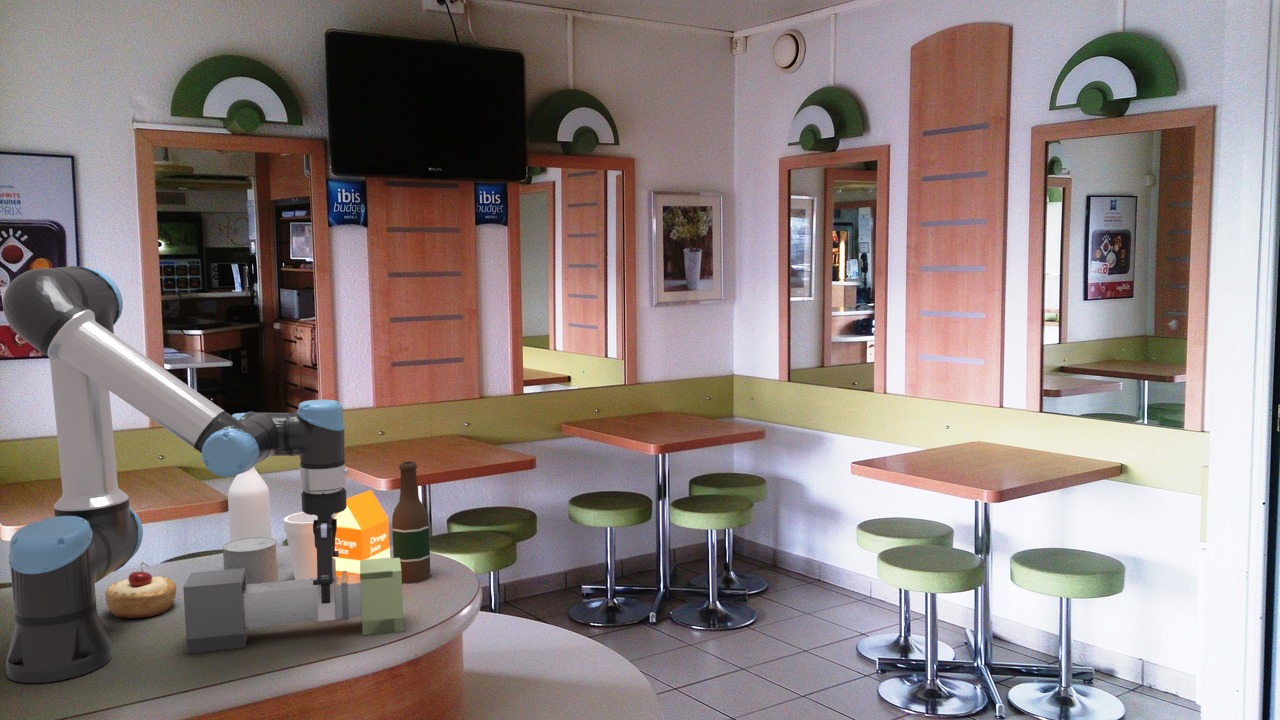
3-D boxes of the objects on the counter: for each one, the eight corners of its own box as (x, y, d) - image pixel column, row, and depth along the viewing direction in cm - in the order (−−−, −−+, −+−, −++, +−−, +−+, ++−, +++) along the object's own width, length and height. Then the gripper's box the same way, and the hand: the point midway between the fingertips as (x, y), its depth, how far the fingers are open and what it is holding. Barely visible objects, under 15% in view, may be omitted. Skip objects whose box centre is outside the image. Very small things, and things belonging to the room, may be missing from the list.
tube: (237, 630, 178) (235, 592, 177) (241, 616, 185) (239, 580, 184) (388, 615, 184) (386, 579, 183) (387, 602, 191) (385, 567, 190)
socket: (362, 635, 183) (360, 573, 182) (362, 619, 191) (359, 559, 189) (403, 631, 185) (401, 569, 183) (401, 615, 192) (399, 556, 191)
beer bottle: (401, 570, 219) (396, 458, 216) (436, 572, 218) (432, 458, 215) (387, 583, 211) (382, 466, 208) (424, 584, 210) (419, 466, 207)
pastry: (98, 625, 190) (95, 577, 189) (116, 603, 201) (113, 558, 200) (169, 619, 192) (166, 572, 191) (183, 598, 204) (180, 553, 203)
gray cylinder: (262, 617, 192) (258, 552, 191) (215, 614, 194) (211, 550, 193) (289, 599, 202) (286, 537, 200) (244, 597, 204) (241, 535, 202)
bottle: (226, 579, 215) (217, 435, 211) (240, 566, 223) (232, 427, 219) (265, 578, 215) (257, 434, 211) (278, 566, 223) (271, 427, 219)
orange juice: (331, 599, 201) (326, 498, 199) (359, 585, 210) (355, 488, 207) (365, 604, 199) (360, 501, 196) (392, 590, 207) (388, 491, 204)
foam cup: (326, 586, 209) (323, 523, 208) (280, 586, 209) (277, 523, 208) (340, 571, 219) (337, 510, 217) (296, 571, 219) (293, 511, 217)
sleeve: (187, 653, 176) (183, 587, 174) (194, 636, 183) (190, 572, 182) (244, 647, 178) (240, 582, 177) (249, 631, 186) (245, 568, 184)
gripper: (345, 504, 171) (349, 629, 174) (346, 472, 195) (350, 582, 198) (297, 507, 169) (302, 633, 172) (304, 474, 193) (308, 585, 196)
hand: (327, 606), depth 185 cm, fingers open, 13 cm apart
